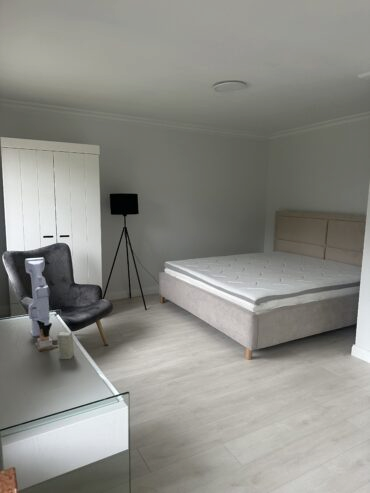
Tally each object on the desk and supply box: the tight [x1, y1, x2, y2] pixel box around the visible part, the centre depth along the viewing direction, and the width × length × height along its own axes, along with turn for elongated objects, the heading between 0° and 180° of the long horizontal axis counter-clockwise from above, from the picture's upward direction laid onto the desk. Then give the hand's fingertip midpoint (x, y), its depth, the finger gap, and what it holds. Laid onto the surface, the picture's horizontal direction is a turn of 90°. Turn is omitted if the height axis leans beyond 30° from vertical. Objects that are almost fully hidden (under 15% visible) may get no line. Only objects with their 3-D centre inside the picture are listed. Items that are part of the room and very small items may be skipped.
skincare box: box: [56, 331, 75, 360], centre depth 167 cm, size 6×4×12 cm
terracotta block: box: [39, 329, 50, 341], centre depth 179 cm, size 4×4×5 cm
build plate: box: [34, 335, 58, 352], centre depth 181 cm, size 10×11×4 cm
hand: (44, 334), depth 179 cm, fingers open, 7 cm apart
